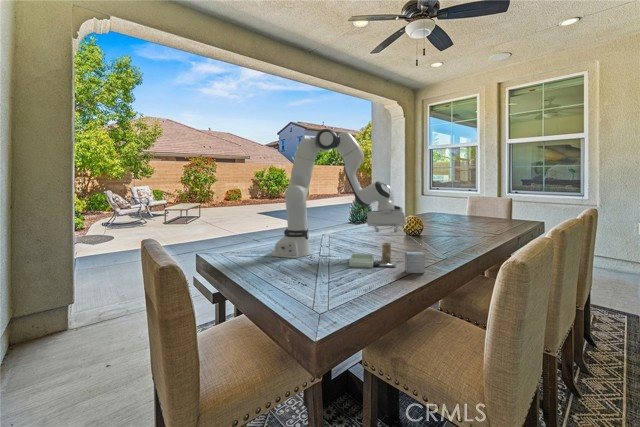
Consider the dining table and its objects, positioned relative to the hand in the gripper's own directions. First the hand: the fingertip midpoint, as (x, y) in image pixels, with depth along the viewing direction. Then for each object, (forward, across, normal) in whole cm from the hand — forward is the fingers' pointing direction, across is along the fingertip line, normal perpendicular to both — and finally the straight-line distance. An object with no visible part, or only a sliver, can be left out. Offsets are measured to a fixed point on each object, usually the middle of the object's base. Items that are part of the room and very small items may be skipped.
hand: (386, 231), depth 160 cm
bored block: (+15, 0, +3) cm, 16 cm away
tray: (+18, -12, +1) cm, 22 cm away
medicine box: (+26, +12, -7) cm, 30 cm away
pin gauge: (+22, -1, -3) cm, 22 cm away
